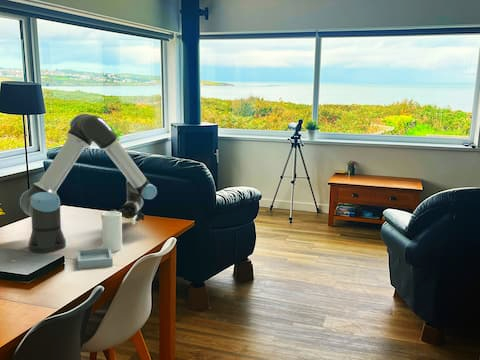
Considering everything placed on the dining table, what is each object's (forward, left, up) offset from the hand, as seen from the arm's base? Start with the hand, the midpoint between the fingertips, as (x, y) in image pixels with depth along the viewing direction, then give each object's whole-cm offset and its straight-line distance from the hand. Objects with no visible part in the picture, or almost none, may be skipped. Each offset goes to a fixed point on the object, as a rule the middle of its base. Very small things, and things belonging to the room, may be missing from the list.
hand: (118, 221), depth 212 cm
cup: (-3, -9, -10) cm, 14 cm away
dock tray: (-11, -23, -10) cm, 28 cm away
